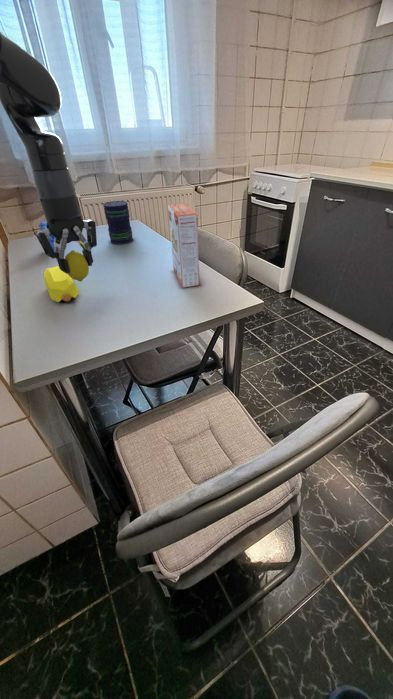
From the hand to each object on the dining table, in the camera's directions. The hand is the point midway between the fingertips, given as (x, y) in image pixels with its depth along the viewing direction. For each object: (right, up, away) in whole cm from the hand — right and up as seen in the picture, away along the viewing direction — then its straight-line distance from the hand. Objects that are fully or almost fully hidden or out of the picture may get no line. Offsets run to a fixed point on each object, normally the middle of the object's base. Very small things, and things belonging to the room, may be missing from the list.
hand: (77, 268), depth 73 cm
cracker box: (+26, +3, +21) cm, 34 cm away
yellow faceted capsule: (-11, -3, +15) cm, 19 cm away
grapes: (-28, +20, +46) cm, 58 cm away
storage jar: (-3, +27, +56) cm, 62 cm away
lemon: (0, -3, +2) cm, 4 cm away
